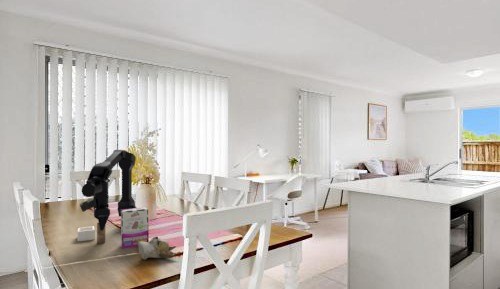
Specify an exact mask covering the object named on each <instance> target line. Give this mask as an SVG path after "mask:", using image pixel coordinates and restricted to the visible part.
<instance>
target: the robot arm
mask: <svg viewBox="0 0 500 289" xmlns="http://www.w3.org/2000/svg"><path fill="white" fill-rule="evenodd" d="M136 161H137V157H136V155H135V154H134V153H131V152H130V151H129V152H128V151H126V150H124V149H114V150H113V152H112V153H111V154H110V155H109V156H108V157H107V158H106V159H105V160H104V161H102V162H98V163H96V164H94V165H93V166H92V168H91V170H90V172H89V174H88V177H87V180H86V181H85V184H84V185H83V186H82V188H81V194H82V195H83V196H84V197H85V198H91V197H93V198H91V199H88V200H85V201H83V202H81V203H79V207H80V210H81V211H82V212H86V211H88V210H90V209H93V216H94V217H93V218H95V219H97V221H98V222H99V226H100V230H103V229H104V227H105V228H106V225H107V222H108V220H109V218H110V215H111V209H110V208H109V183H110V182H111V179H110V177H111V175H112V173H113V169H114V167H115V166H116V165H117V164H118V167H119V168H120V169H121V198H120V200H118V201H117V213H118V217H121V210H124V209H133V208H137V206H136V201H135V199H134V198H133V196H132V195H133V194H132V193H133V192H132V190H133V189H132V188H133V186H132V185H133V184H132V182H133V181H132V176H133V175H132V174H133V173H132V171H133V168H134V167H135V164H136Z"/></svg>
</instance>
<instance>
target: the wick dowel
mask: <svg viewBox="0 0 500 289" xmlns="http://www.w3.org/2000/svg"><path fill="white" fill-rule="evenodd" d="M96 232H97V233H96V244H98V245H99V244H102V245H103V244H105V243H106V226H105V227H104V229H103V230H100V226H99V221H98V222H96Z"/></svg>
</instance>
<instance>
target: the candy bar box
mask: <svg viewBox="0 0 500 289" xmlns="http://www.w3.org/2000/svg"><path fill="white" fill-rule="evenodd" d="M120 228H121V229H120V239H121V240H120V243H121V249H128V248H133V247H135V248H136V247H138V241H142V242H150V240H149V234H150V233H149V208H148V207H147V206H145V207H136V208H133V209H124V210H121V216H120Z"/></svg>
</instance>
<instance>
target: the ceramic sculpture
mask: <svg viewBox="0 0 500 289" xmlns="http://www.w3.org/2000/svg"><path fill="white" fill-rule="evenodd" d="M137 247H138V252H139V254H140V257H141V259H143V260H144V261H145V260H147V259H148V258H154V259H166V260H167V259H171V258H174V257H176V256H178V254H177V253H174V252H173V250H174V249H176V247H177V246H173V245H172V246H169V242H168V241H167V240H166V239H164V238H162V239H161V238H159V237H158V236H155V237H152V238H151V239H150V240H149V242H142V241H138V246H137Z"/></svg>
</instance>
